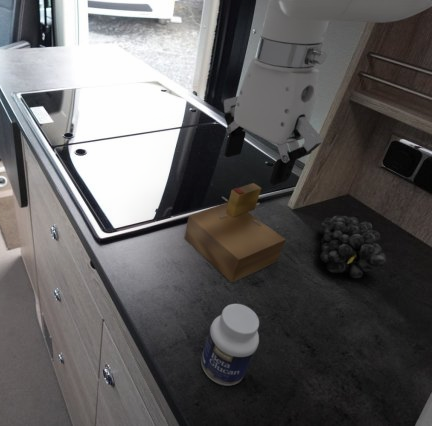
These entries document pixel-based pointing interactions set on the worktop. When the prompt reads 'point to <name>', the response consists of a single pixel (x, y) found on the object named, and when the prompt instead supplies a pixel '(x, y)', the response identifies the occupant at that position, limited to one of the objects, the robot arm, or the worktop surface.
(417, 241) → the worktop surface
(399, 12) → the robot arm
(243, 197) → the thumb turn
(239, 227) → the brown flat block
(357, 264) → the fruit
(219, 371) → the pill bottle
